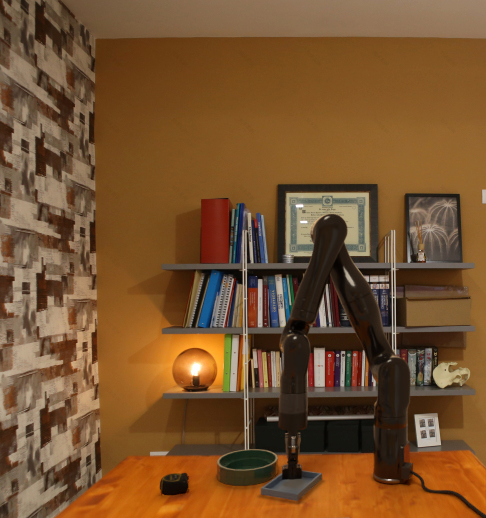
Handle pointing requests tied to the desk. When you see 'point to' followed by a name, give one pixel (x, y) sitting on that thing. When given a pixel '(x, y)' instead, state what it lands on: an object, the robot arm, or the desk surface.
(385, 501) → the desk surface
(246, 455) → the bowl
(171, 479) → the tape measure
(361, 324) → the robot arm
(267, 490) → the tray
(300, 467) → the clip
